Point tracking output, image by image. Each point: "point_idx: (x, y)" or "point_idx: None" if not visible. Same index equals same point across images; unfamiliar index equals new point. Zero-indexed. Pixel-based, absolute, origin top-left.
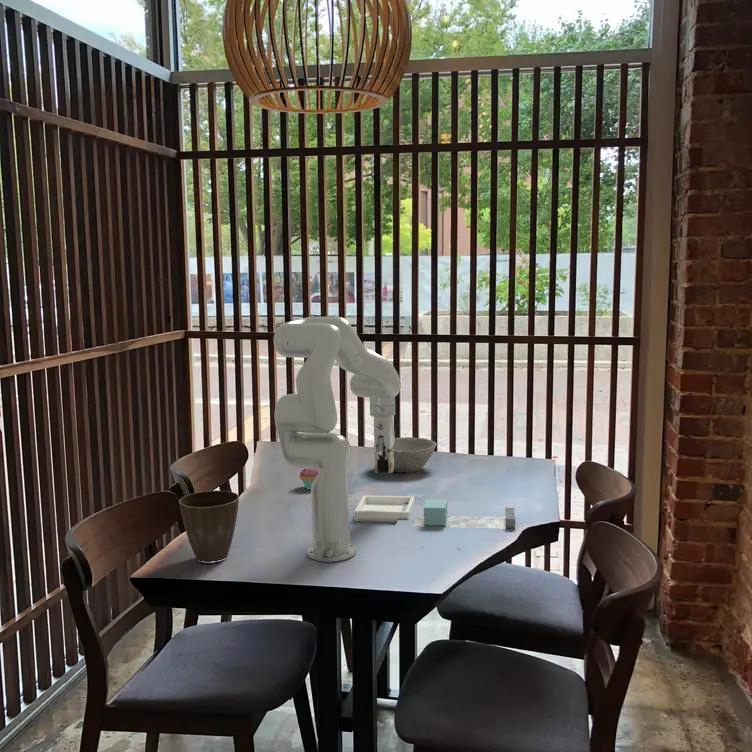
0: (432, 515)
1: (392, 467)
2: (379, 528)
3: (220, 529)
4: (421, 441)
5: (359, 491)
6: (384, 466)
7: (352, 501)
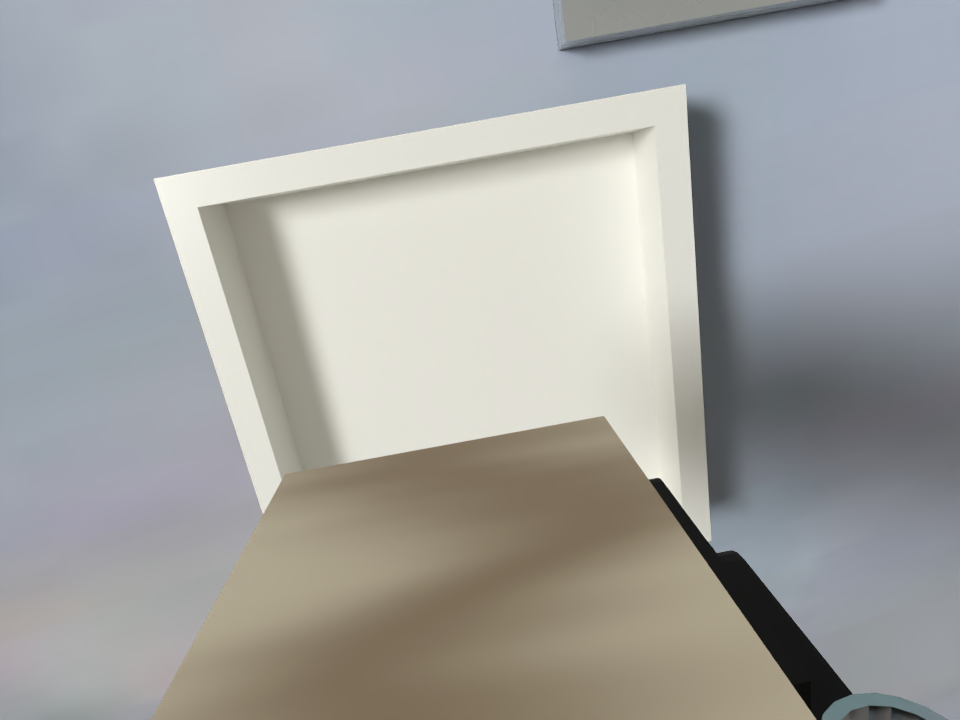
0: None
1: (503, 472)
2: (809, 287)
3: None
4: None
5: (16, 698)
6: (770, 603)
7: None
